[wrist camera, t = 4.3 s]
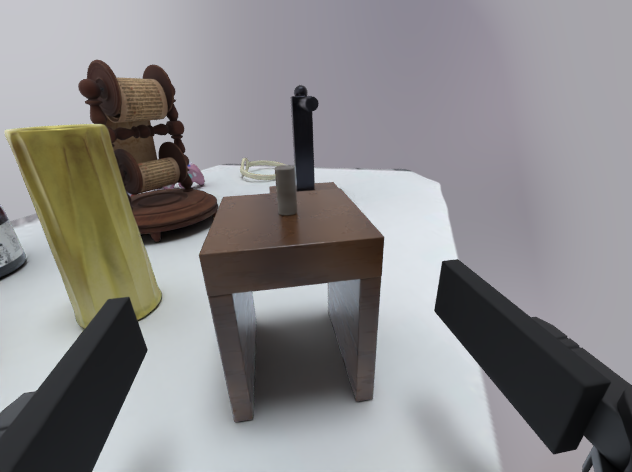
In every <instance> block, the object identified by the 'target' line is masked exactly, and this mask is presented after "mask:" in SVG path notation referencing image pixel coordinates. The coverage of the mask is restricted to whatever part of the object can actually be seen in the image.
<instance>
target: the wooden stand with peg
mask: <svg viewBox="0 0 632 472" xmlns="http://www.w3.org/2000/svg"><path fill="white" fill-rule="evenodd" d="M275 178H276V190H277V193H271V194H257V195H243V196H230V197H223V199H222V201H221V204H220V206H219V208H218V211H217V213H216V215H215V218H214V220H213V223H212V225H211V227H210V230H209V232H208V235H207V237H206V239H205V242H204V244H203V246H202V249H201V251H200V254H199V258H200V262H201V267H202V272H203V276H204V281H205V286H206V291H207V295H208V296H209V297H208V299H209V303H210V308H211V313H212V318H213V322H214V327H215V332H216V337H217V341H218V346H219V351H220V355H221V360H222V365H223V370H224V374H225V379H226V384H227V389H228V393H229V398H230V403H231V407H232V412H233V417H234V421H235V422H240V421H246V420H252V419H253V416H254V382H255V349H256V315H255V308H254V301H253V293H252V291H260V290H269V289H278V288H287V287H295V286H304V285H313V284H322V283H328V313H329V316H330V319H331V323H332V326H333V329H334V332H335V335H336V339H337V342H338V345H339V348H340V351H341V355H342V358H343V361H344V364H345V367H346V371H347V374H348V377H349V380H350V384H351V387H352V390H353V393H354V396H355V400H356V401H357V402H358V401H364V400H370V399H373V388H374V374H375V359H376V345H377V330H378V315H379V301H380V286H381V276H382V262H383V248H384V236H383V235H382V234H381V233H380V232H379V231H378V229H377V228H376V227H375V226H374V225H373V224H372V223H371V222H370V221H369V219H368V218H367V217H366V216H365V215H364V214H363V213H362V212H361V211H360V209H359V208H358V207H357V206H356V205H355V204H354V203H353V202H352V201H351V200H350V198H349V197H348V196H347V195H346V194H345V193H344V192H343V191H342V190H341V189H326V190H313V191H299V192H296V177H295V167H294V166H291V165H282V166H277V167H275Z"/></svg>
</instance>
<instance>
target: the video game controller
mask: <svg viewBox="0 0 632 472" xmlns="http://www.w3.org/2000/svg"><path fill="white" fill-rule="evenodd" d="M187 167H188V169H189V171H188V174H189V176H190V178H191V179H192V182H196V183H197V184H199V185H203V184H204V182H205V181H204V176H203V174H202V173H201V171H200V170H199V168H198V167H197V166H196V165H194V164H192V163H191V162H190V161H189V165H188V166H187ZM174 186H175V184H173V185H169V186H165V187H163V188H164V189H173V188H174ZM179 186H180V187H181V188H183V189H184V187H183V186H182V185H181V184H180V183H179Z"/></svg>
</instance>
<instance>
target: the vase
mask: <svg viewBox="0 0 632 472" xmlns="http://www.w3.org/2000/svg"><path fill="white" fill-rule="evenodd" d="M5 136H6V138H7V141H8V143H9V145H10V147H11V149H12V152H13V154H14V156H15V159H16V161H17V164H18V166H19V169H20V171H21V174H22V177H23V180H24V182H25V185H26V187H27V189H28V192H29V195H30V197H31V200H32V202H33V205H34V207H35V210H36V213H37V215H38V218H39V220H40V223H41V225H42V228H43V230H44V233H45V235H46V238H47V241H48V244H49V246H50V249H51V251H52V254H53V256H54V259H55V261H56V264H57V266H58V269H59V271H60V274H61V276H62V279H63V282H64V285H65V288H66V290H67V293H68V296H69V298H70V301H71V304H72V306H73V309H74V312H75V317H76V321H77V323H78V324H79V325H80V326H81V327H83V328H84V329H85V328H86V327H87V326H88V324H89V323H90V322H91V320H92V319H93V318H94V317H95V315H96V314H97V313H98V311H99V310H100V309H101V308H102V306H103V305H104V304H105V302H106V301H107V300H108V299H113V298H122V297H130V300H131V303H132V306H133V309H134V312H135V315H136V318H137V320H139V319H141V318H143V317H144V316H146V315H147V314H149V313H150V312H151V311H152V310H153V309H154V308H155V307H156V306H157V305H158V304H159V302H160V300H161V296H162V293H161V291H160V289H159V288H158V285H157V283H156V279H155V276H154V273H153V270H152V267H151V263H150V260H149V257H148V255H147V252H146V249H145V246H144V244H143V241H142V238H141V235H140V232H139V229H138V226H137V224H136V221H135V218H134V216H133V213H132V209H131V206H130V203H129V200H128V197H127V194H126V191H125V188H124V184H123V181H122V177H121V174H120V170H119V167H118V164H117V160H116V157H115V154H114V151H113V147H112V143H111V140H110V135H109V132H108V129H107V127H106V126H105V125H103V124H80V125H58V126H41V127H29V128H17V129H8V130H5Z"/></svg>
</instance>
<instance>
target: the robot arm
mask: <svg viewBox="0 0 632 472" xmlns="http://www.w3.org/2000/svg"><path fill="white" fill-rule="evenodd" d="M434 311H435V312H436V314H437V315H438V316H439V317H440V318H441V320H442V321H443V322H444V323H445V324H446V326H447V327H448V328H449V329H450V330H451V332H452V333H453V334H454V335H455V336H456V338H457V339H458V340H459V341H460V342H461V344H462V345H463V346H464V347H465V349H466V350H467V351H468V352H469V353H470V355H471V356H472V357H473V358H474V359H475V361H476V362H477V363H478V364H479V365H480V367H481V368H482V369H483V370H484V371H485V373H486V374H487V375H488V376H489V377H490V379H491V380H492V381H493V382H494V383H495V385H496V386H497V387H498V388H499V390H500V391H501V392H502V393H503V394H504V396H505V397H506V398H507V399H508V400H509V402H510V403H511V404H512V405H513V406H514V408H515V409H516V410H517V411H518V412H519V414H520V415H521V416H522V417H523V418H524V420H525V421H526V422H527V423H528V424H529V426H530V427H531V428H532V429H533V430H534V431H535V433H536V434H537V435H538V437H539V438H540V439H541V440H542V441H543V442H544V444H545V445H546V446H547V447H548V448H549V450H550V451H551V452H552V453H553V454H558V453H562V452H567V451H571V450H576V449H577V447H578V445H579V443H580V441H581V439H582V438H583V436H585V437H586V438H587V439H588V440H589V441H590V442H591V443H592V444H593V445H594V446H593V448H592V450H591V452H590V453H589V455H588V457H587V459H586V461H585V463H584V464H583V469H582V472H589V470H590V468H591V467H592V465H593V467H594V472H632V385H631V384H629V383H628V382H626V381H625V380H624V379H623V378H621V377H620V376H619V375H617V374H616V373H614V372H613V371H612V370H611V369H609V368H608V367H607V366H606V365H604V364H603V363H602V362H600V361H599V360H598V359H596V358H595V357H594V356H592V355H591V354H590V353H588V352H587V351H586V350H585V349H583V348H580V347H579V345H578V344H577V343H575V342H574V341H573V340H571V339H568V338H567V336H566V335H565V334H564V333H562V332H561V331H560V330H558V329H557V328H556V327H554V326H553V325H551V324H549V323H547V322H545V321H543V320H541V319H539V318H537V317H530V316H528V315H527V314H526V313H524V312H523V311H522V310H521V309H519V308H518V307H517V306H516V305H515V304H513V303H512V302H511V301H510V300H508V299H507V298H506V297H504V296H503V295H502V294H501V293H500V292H498V291H497V290H496V289H495V288H493V287H492V286H491V285H489V284H488V283H487V282H486V281H484V280H483V279H482V278H481V277H479V276H478V275H477V274H476V273H474V272H473V271H472V270H471V269H469V268H468V267H467V266H466V265H464V264H463V263H462V262H461V261H459V260H458V259H457V260H448V261H442V266H441V273H440V279H439V285H438V291H437V297H436V304H435V310H434ZM146 353H147V347H146V344H145V341H144V338H143V335H142V332H141V329H140V327H139V324H138V321H137V318H136V315H135V312H134V309H133V306H132V303H131V300H130V297H122V298H113V299H108V300H107V301H106V302H105V304H104V305H103V306H102V308H101V309H100V310H99V311H98V313H97V314H96V315H95V317H94V318H93V319H92V320H91V322H90V323H89V324H88V326H87V327H86V328H85V329H84V331H83V332H82V333H81V335H80V336H79V337H78V338H77V340H76V341H75V342H74V344H73V345H72V346H71V347H70V349H69V350H68V351H67V353H66V354H65V355H64V356H63V358H62V359H61V360H60V362H59V363H58V364H57V365H56V367H55V368H54V369H53V370H52V372H51V373H50V374H49V376H48V377H47V378H46V379H45V381H44V382H43V383H42V385H41V386H40V387H39V388H38V390H37V391H36V392H29V393H24V394H22V395H21V396H20V397H19V398H18V399H16V400H15V401H14V402H13V403H11V404H10V405H9V406H8V407H6V408H5V409H4V410H3V411H2V412H1V413H0V472H92V470H93V468H94V466H95V464H96V462H97V460H98V457H99V455H100V453H101V451H102V449H103V446H104V444H105V442H106V440H107V438H108V436H109V433H110V431H111V429H112V427H113V425H114V422H115V420H116V418H117V416H118V414H119V412H120V409H121V407H122V405H123V403H124V401H125V398H126V396H127V394H128V392H129V390H130V388H131V385H132V383H133V381H134V379H135V377H136V374H137V372H138V370H139V368H140V366H141V364H142V361H143V359H144V357H145V355H146Z"/></svg>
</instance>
